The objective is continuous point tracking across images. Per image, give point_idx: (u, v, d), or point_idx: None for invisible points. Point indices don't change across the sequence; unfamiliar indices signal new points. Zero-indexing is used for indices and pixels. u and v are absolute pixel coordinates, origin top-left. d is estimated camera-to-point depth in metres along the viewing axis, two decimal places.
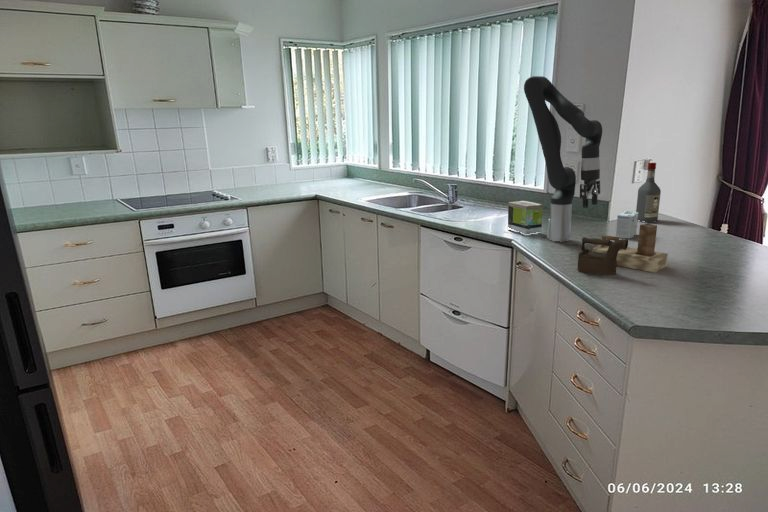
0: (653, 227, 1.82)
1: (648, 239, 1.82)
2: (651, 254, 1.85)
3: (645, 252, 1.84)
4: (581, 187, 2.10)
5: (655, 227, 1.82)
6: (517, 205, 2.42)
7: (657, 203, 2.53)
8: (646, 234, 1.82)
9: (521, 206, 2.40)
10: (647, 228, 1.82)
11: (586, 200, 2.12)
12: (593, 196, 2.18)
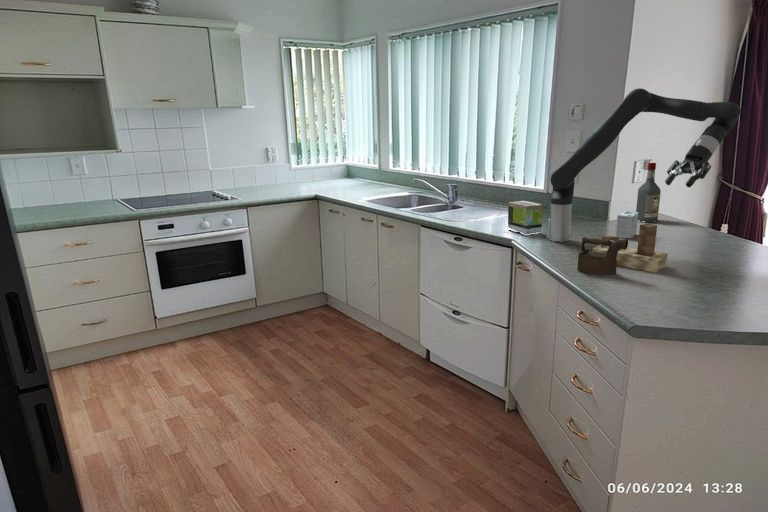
0: (653, 227, 1.82)
1: (648, 239, 1.82)
2: (651, 254, 1.85)
3: (645, 252, 1.84)
4: (707, 166, 1.79)
5: (655, 227, 1.82)
6: (517, 205, 2.42)
7: (657, 203, 2.53)
8: (646, 234, 1.82)
9: (521, 206, 2.40)
10: (647, 228, 1.82)
11: (695, 180, 1.81)
12: (672, 175, 1.88)
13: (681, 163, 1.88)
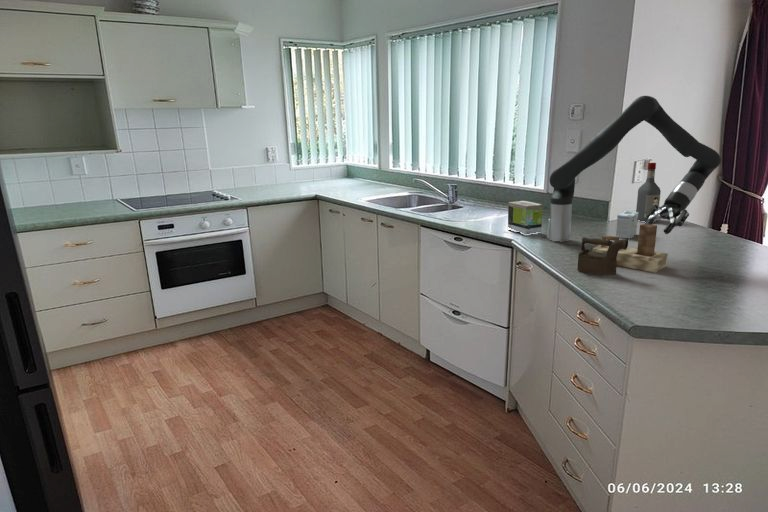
0: (653, 227, 1.82)
1: (648, 239, 1.82)
2: (651, 254, 1.85)
3: (645, 252, 1.84)
4: (685, 214, 1.80)
5: (655, 227, 1.82)
6: (517, 205, 2.42)
7: (657, 203, 2.53)
8: (646, 234, 1.82)
9: (521, 206, 2.40)
10: (647, 228, 1.82)
11: (672, 227, 1.82)
12: (651, 220, 1.89)
13: (660, 208, 1.89)
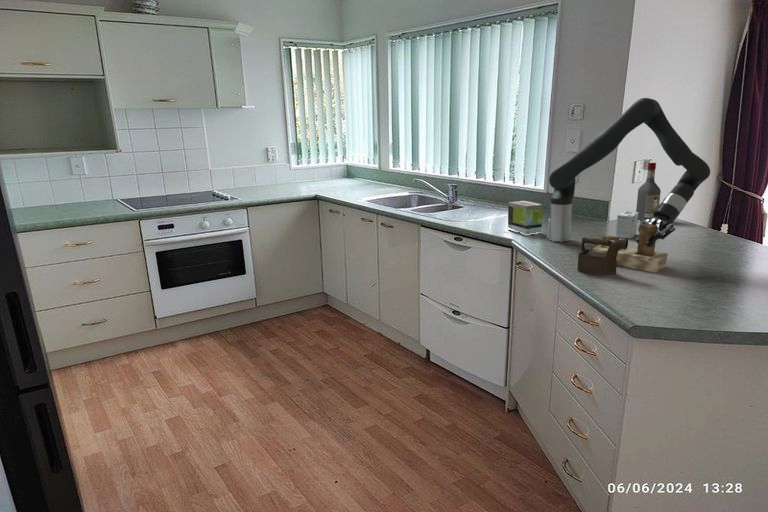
0: (653, 227, 1.82)
1: (648, 239, 1.82)
2: (651, 254, 1.85)
3: (645, 252, 1.84)
4: (670, 228, 1.79)
5: (655, 227, 1.82)
6: (517, 205, 2.42)
7: (657, 203, 2.53)
8: (646, 234, 1.82)
9: (521, 206, 2.40)
10: (647, 228, 1.82)
11: None
12: None
13: (650, 220, 1.88)
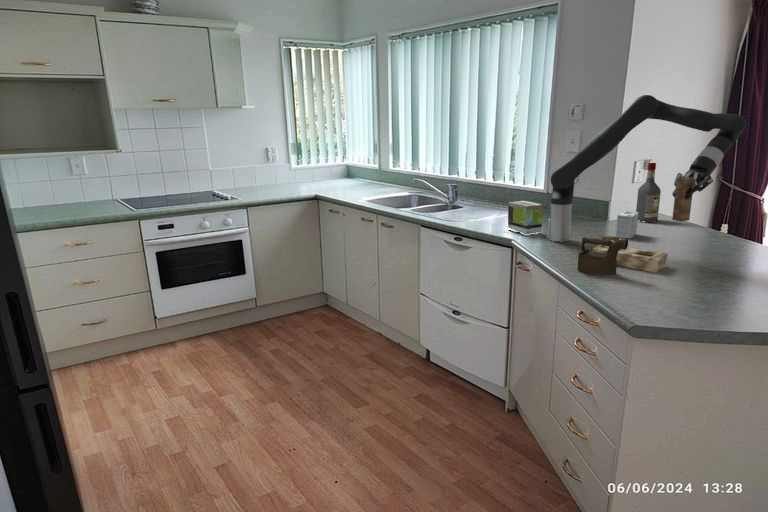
0: (690, 179, 1.83)
1: (685, 191, 1.83)
2: (688, 207, 1.86)
3: (683, 204, 1.85)
4: (708, 180, 1.80)
5: (692, 179, 1.83)
6: (517, 205, 2.42)
7: (657, 203, 2.53)
8: (684, 187, 1.83)
9: (521, 206, 2.40)
10: (684, 180, 1.83)
11: (692, 192, 1.83)
12: None
13: (686, 174, 1.88)
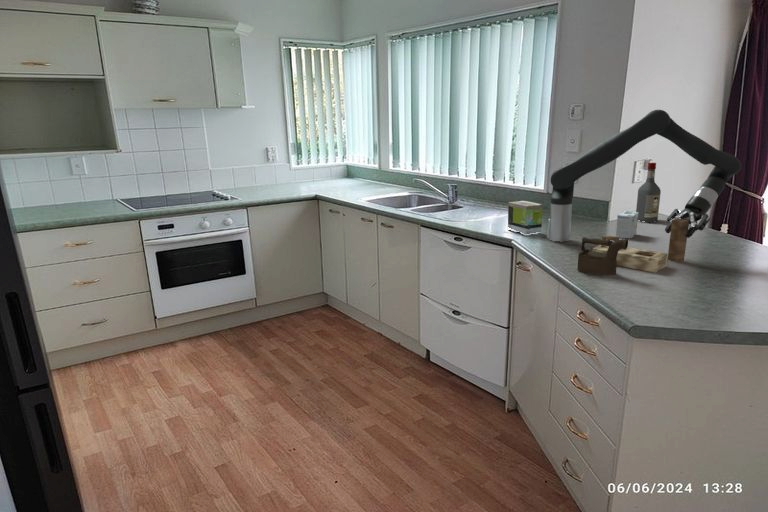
0: (685, 222, 1.87)
1: (680, 233, 1.88)
2: (683, 248, 1.90)
3: (677, 246, 1.89)
4: (706, 218, 1.84)
5: (687, 222, 1.88)
6: (517, 205, 2.42)
7: (657, 203, 2.53)
8: (678, 229, 1.88)
9: (521, 206, 2.40)
10: (679, 223, 1.87)
11: None
12: None
13: (681, 212, 1.93)
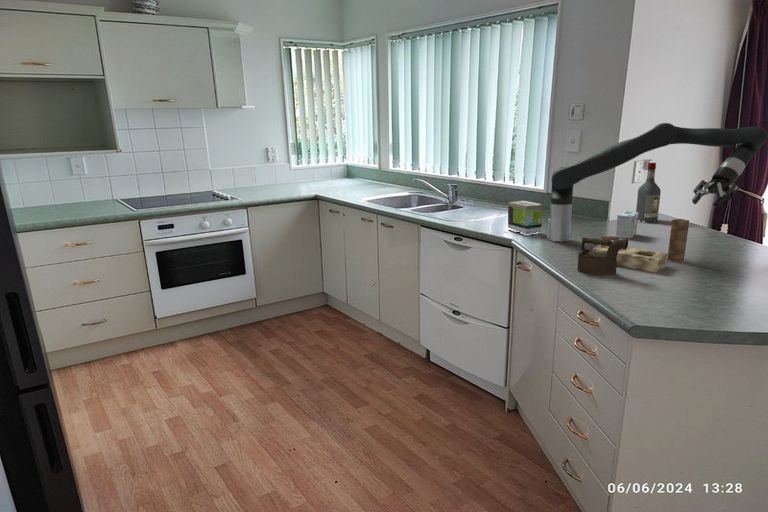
0: (685, 222, 1.87)
1: (680, 233, 1.88)
2: (683, 248, 1.90)
3: (677, 246, 1.89)
4: (735, 187, 1.85)
5: (687, 222, 1.88)
6: (517, 205, 2.42)
7: (657, 203, 2.53)
8: (678, 229, 1.88)
9: (521, 206, 2.40)
10: (679, 223, 1.87)
11: None
12: (699, 195, 1.95)
13: (708, 183, 1.94)
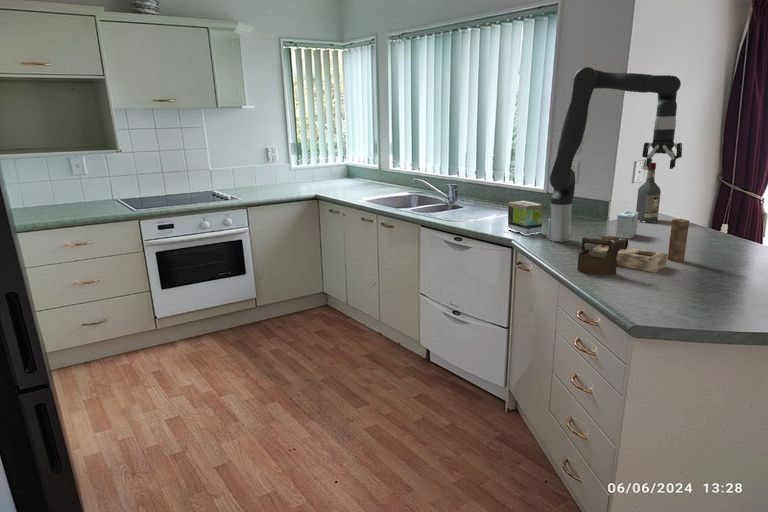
0: (685, 222, 1.87)
1: (680, 233, 1.88)
2: (683, 248, 1.90)
3: (677, 246, 1.89)
4: (680, 146, 1.98)
5: (687, 222, 1.88)
6: (517, 205, 2.42)
7: (657, 203, 2.53)
8: (678, 229, 1.88)
9: (521, 206, 2.40)
10: (679, 223, 1.87)
11: None
12: (650, 159, 2.07)
13: (652, 146, 2.05)
